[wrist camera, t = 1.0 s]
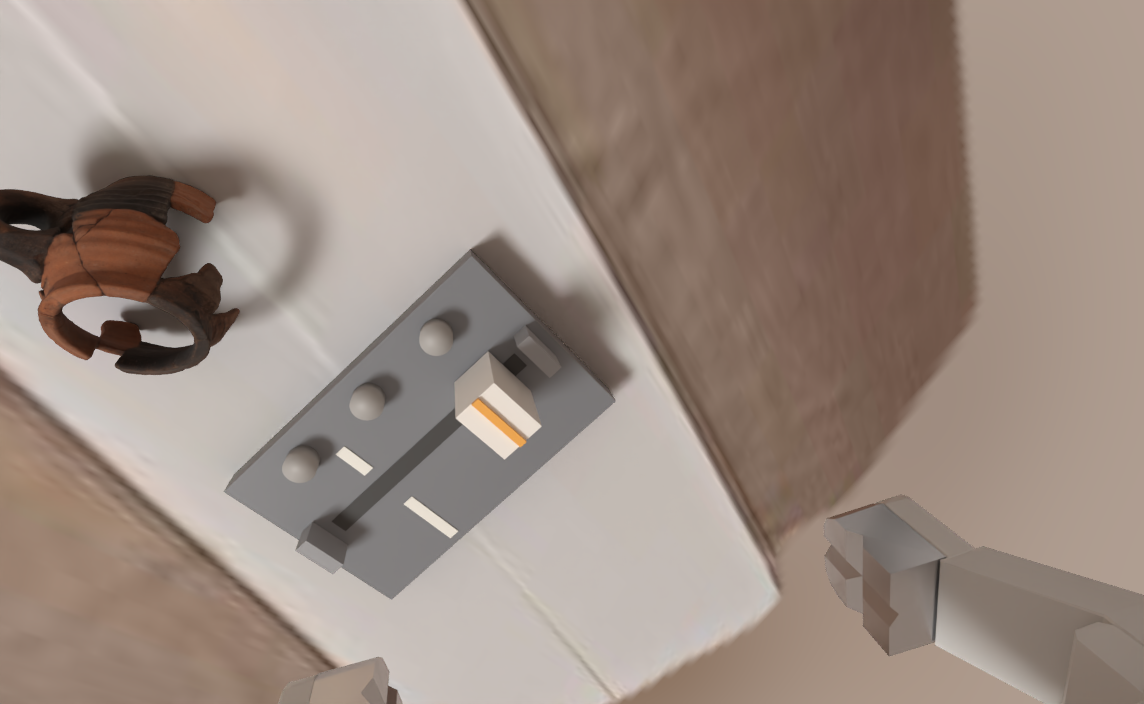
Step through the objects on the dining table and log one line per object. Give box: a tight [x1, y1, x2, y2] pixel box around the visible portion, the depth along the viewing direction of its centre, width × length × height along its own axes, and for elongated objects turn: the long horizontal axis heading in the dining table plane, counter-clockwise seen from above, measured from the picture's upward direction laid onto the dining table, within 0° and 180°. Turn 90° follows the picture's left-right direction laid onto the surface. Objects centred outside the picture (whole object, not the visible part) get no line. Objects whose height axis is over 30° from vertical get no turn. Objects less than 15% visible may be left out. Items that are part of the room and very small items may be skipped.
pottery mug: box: [0, 176, 240, 375], centre depth 32 cm, size 12×10×8 cm
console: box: [224, 250, 616, 600], centre depth 40 cm, size 22×14×4 cm, turn 132°
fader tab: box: [454, 351, 542, 460], centre depth 36 cm, size 3×4×5 cm
